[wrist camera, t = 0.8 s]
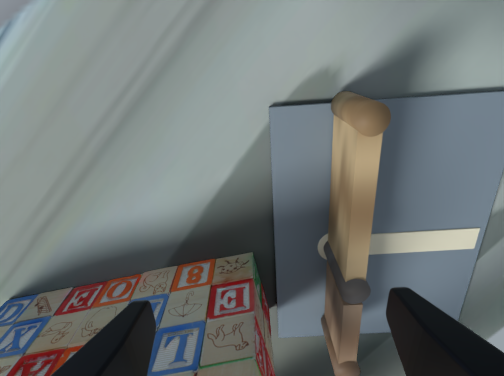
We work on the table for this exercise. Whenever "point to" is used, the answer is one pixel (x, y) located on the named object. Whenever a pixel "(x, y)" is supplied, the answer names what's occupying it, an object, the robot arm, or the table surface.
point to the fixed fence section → (341, 329)
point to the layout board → (388, 203)
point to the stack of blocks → (166, 316)
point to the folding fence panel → (353, 189)
